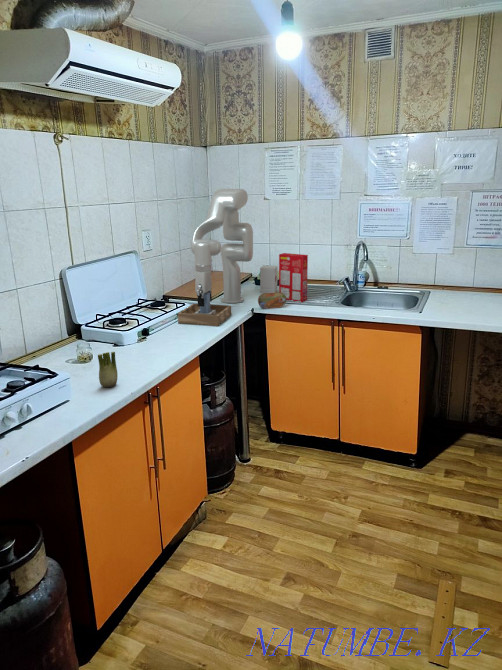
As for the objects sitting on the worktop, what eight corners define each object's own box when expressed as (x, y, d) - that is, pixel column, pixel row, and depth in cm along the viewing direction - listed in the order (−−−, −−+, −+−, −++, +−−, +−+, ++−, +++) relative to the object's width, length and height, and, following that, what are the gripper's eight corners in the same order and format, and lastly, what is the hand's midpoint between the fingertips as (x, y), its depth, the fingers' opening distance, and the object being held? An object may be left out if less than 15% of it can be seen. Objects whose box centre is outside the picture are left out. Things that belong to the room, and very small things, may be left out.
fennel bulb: (118, 382, 177) (115, 349, 173) (117, 388, 172) (114, 354, 169) (101, 384, 176) (97, 350, 172) (99, 389, 171) (95, 355, 168)
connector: (203, 316, 253) (202, 292, 250) (210, 316, 252) (209, 292, 249) (200, 318, 250) (199, 293, 246) (208, 318, 249) (207, 294, 245)
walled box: (194, 313, 263) (193, 303, 262) (231, 315, 258) (231, 305, 256) (178, 323, 245) (177, 313, 243) (218, 326, 239) (217, 316, 238)
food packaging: (306, 300, 285) (307, 254, 278) (302, 302, 281) (303, 256, 274) (283, 297, 293) (284, 253, 286) (279, 299, 289) (279, 254, 282)
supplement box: (275, 293, 302) (274, 268, 298) (260, 293, 304) (259, 267, 300) (277, 290, 311) (277, 265, 306) (263, 289, 313) (263, 265, 308)
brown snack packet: (259, 309, 268) (258, 293, 265) (257, 308, 270) (257, 292, 268) (286, 307, 271) (286, 291, 269) (284, 306, 274) (284, 290, 272)
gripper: (202, 265, 253) (204, 299, 258) (188, 271, 237) (190, 307, 242) (217, 265, 251) (218, 300, 256) (204, 272, 235) (205, 308, 240)
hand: (204, 303), depth 249 cm, fingers open, 9 cm apart
